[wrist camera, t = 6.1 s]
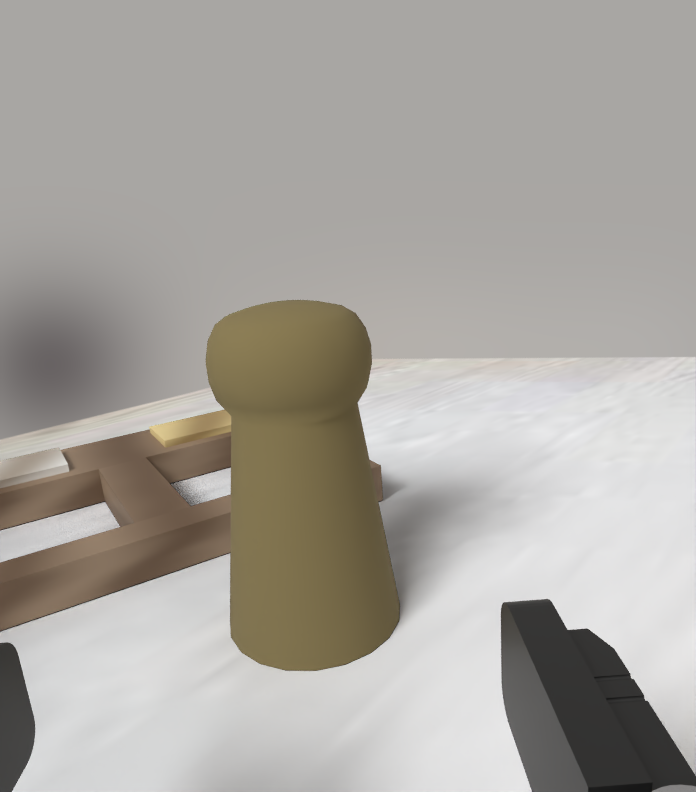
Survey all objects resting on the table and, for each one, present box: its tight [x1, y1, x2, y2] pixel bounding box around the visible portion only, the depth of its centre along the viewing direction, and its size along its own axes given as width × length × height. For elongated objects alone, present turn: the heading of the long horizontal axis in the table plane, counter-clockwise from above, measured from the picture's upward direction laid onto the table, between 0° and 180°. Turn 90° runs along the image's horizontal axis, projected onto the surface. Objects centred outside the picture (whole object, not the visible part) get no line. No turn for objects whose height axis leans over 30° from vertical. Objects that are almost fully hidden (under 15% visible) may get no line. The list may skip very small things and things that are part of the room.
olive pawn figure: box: [206, 300, 400, 671], centre depth 21 cm, size 6×6×11 cm
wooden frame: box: [0, 410, 383, 631], centre depth 32 cm, size 20×14×2 cm
